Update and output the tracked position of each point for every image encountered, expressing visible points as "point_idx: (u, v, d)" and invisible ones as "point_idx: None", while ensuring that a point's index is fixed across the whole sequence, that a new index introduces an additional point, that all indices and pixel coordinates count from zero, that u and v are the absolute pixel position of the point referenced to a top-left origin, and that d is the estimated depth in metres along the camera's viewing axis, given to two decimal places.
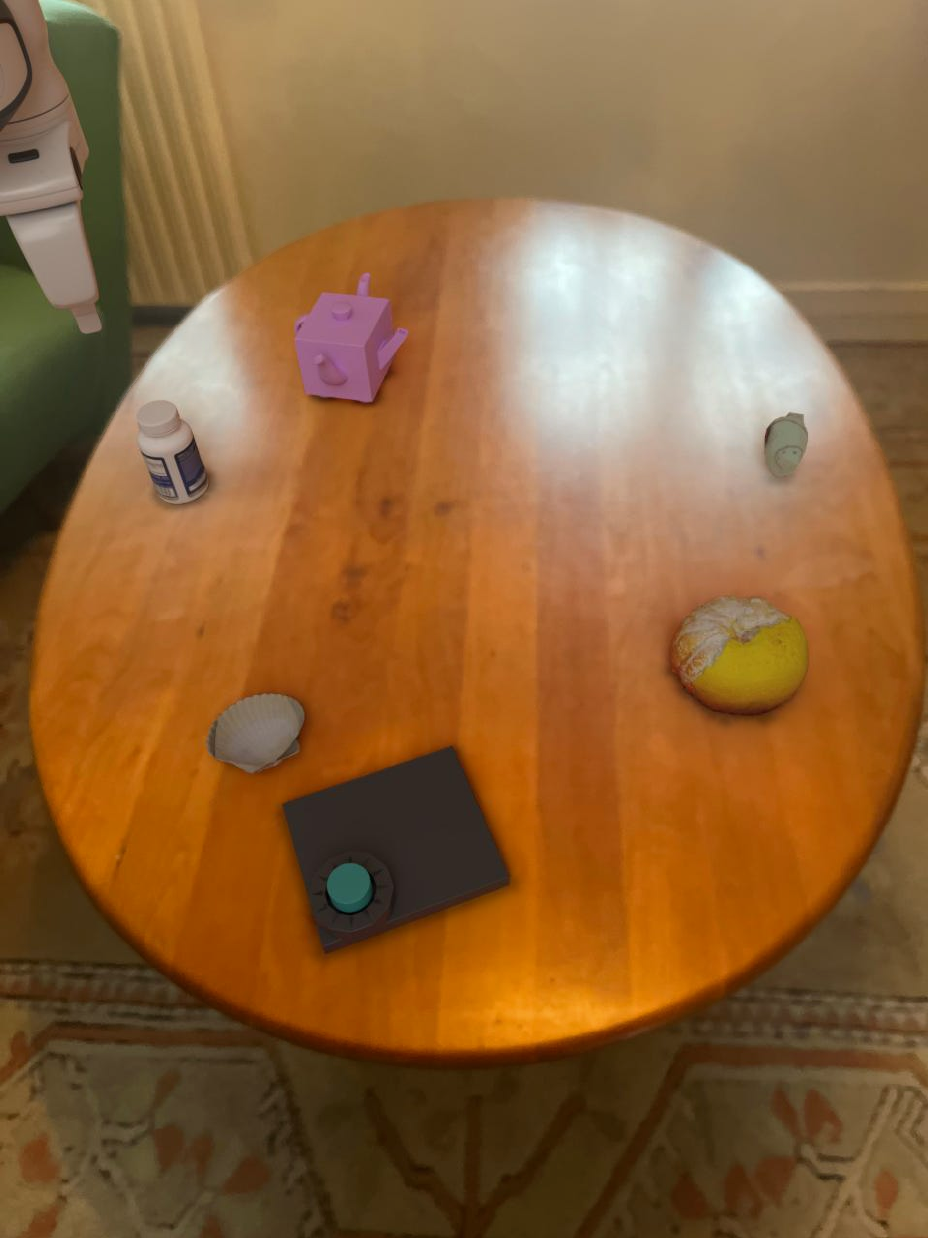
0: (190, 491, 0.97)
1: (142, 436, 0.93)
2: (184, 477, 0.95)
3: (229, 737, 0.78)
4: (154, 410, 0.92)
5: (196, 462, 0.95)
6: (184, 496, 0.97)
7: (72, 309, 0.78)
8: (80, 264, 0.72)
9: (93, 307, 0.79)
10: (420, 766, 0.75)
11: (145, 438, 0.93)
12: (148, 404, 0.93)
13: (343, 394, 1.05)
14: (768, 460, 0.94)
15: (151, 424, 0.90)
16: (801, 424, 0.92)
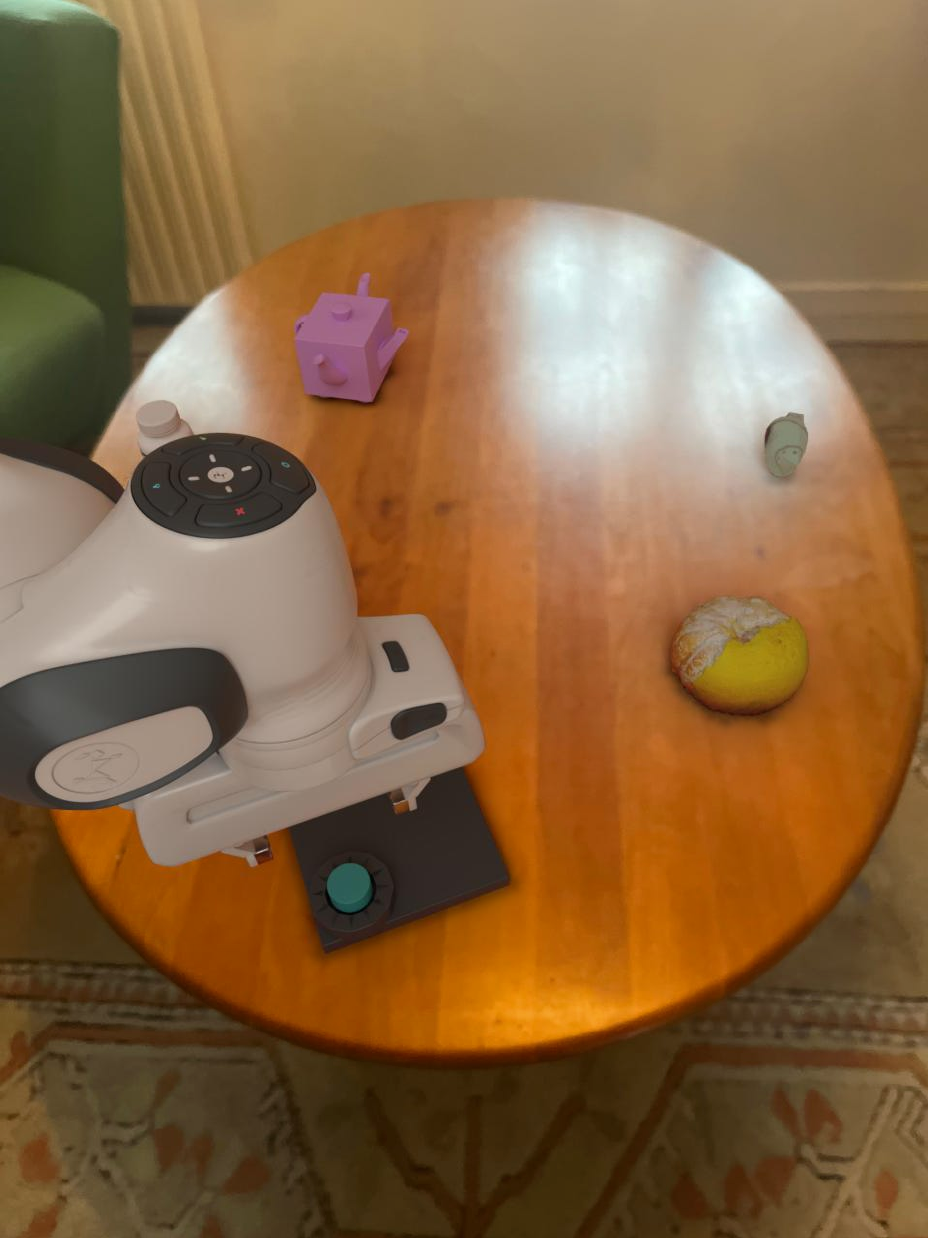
0: None
1: (142, 436, 0.93)
2: None
3: None
4: (154, 410, 0.92)
5: None
6: None
7: None
8: None
9: None
10: None
11: (145, 438, 0.93)
12: (148, 404, 0.93)
13: (343, 394, 1.05)
14: (768, 460, 0.94)
15: (151, 424, 0.90)
16: (801, 424, 0.92)
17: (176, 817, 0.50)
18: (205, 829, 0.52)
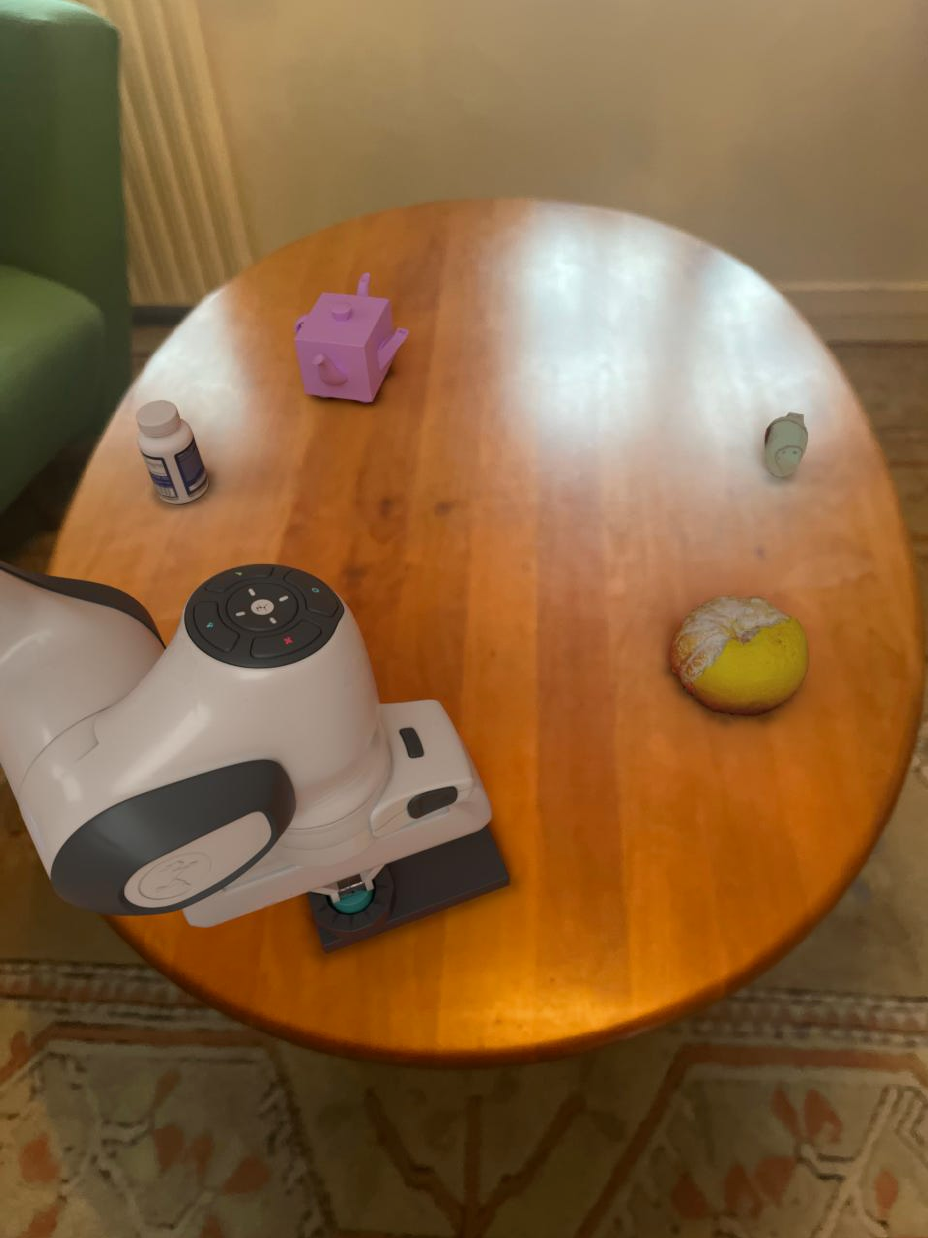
0: (190, 491, 0.97)
1: (142, 436, 0.93)
2: (184, 477, 0.95)
3: None
4: (154, 410, 0.92)
5: (196, 462, 0.95)
6: (183, 496, 0.97)
7: None
8: None
9: None
10: None
11: (144, 438, 0.93)
12: (148, 404, 0.93)
13: (343, 394, 1.05)
14: (768, 460, 0.94)
15: (151, 424, 0.90)
16: (801, 424, 0.92)
17: None
18: (238, 896, 0.58)
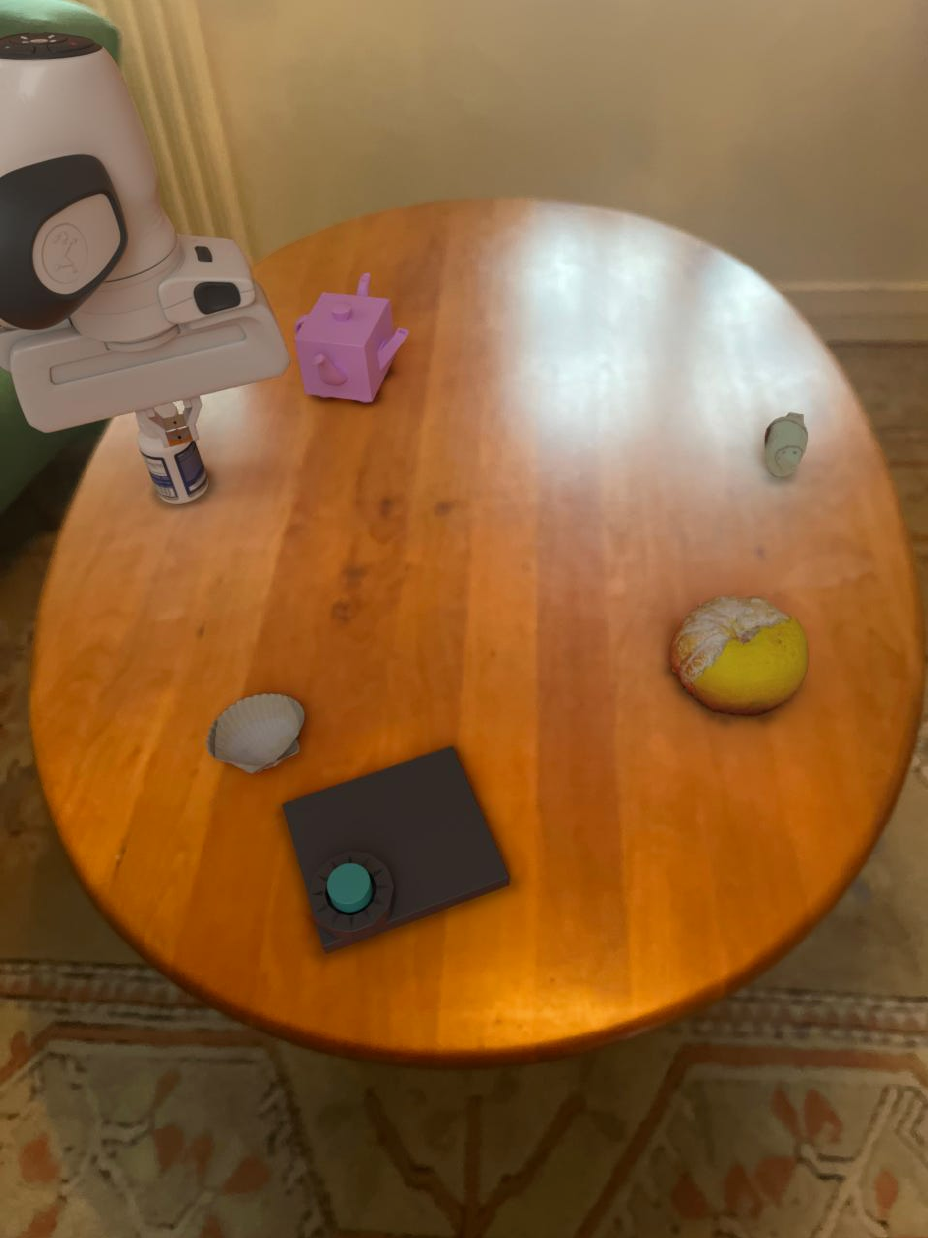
0: (190, 491, 0.97)
1: (142, 436, 0.93)
2: (184, 477, 0.95)
3: (229, 737, 0.78)
4: (154, 410, 0.92)
5: (196, 462, 0.95)
6: (184, 496, 0.97)
7: (199, 411, 0.76)
8: None
9: None
10: (420, 766, 0.75)
11: (144, 438, 0.93)
12: None
13: (343, 394, 1.05)
14: (768, 460, 0.94)
15: None
16: (801, 424, 0.92)
17: (41, 374, 0.68)
18: (66, 394, 0.70)
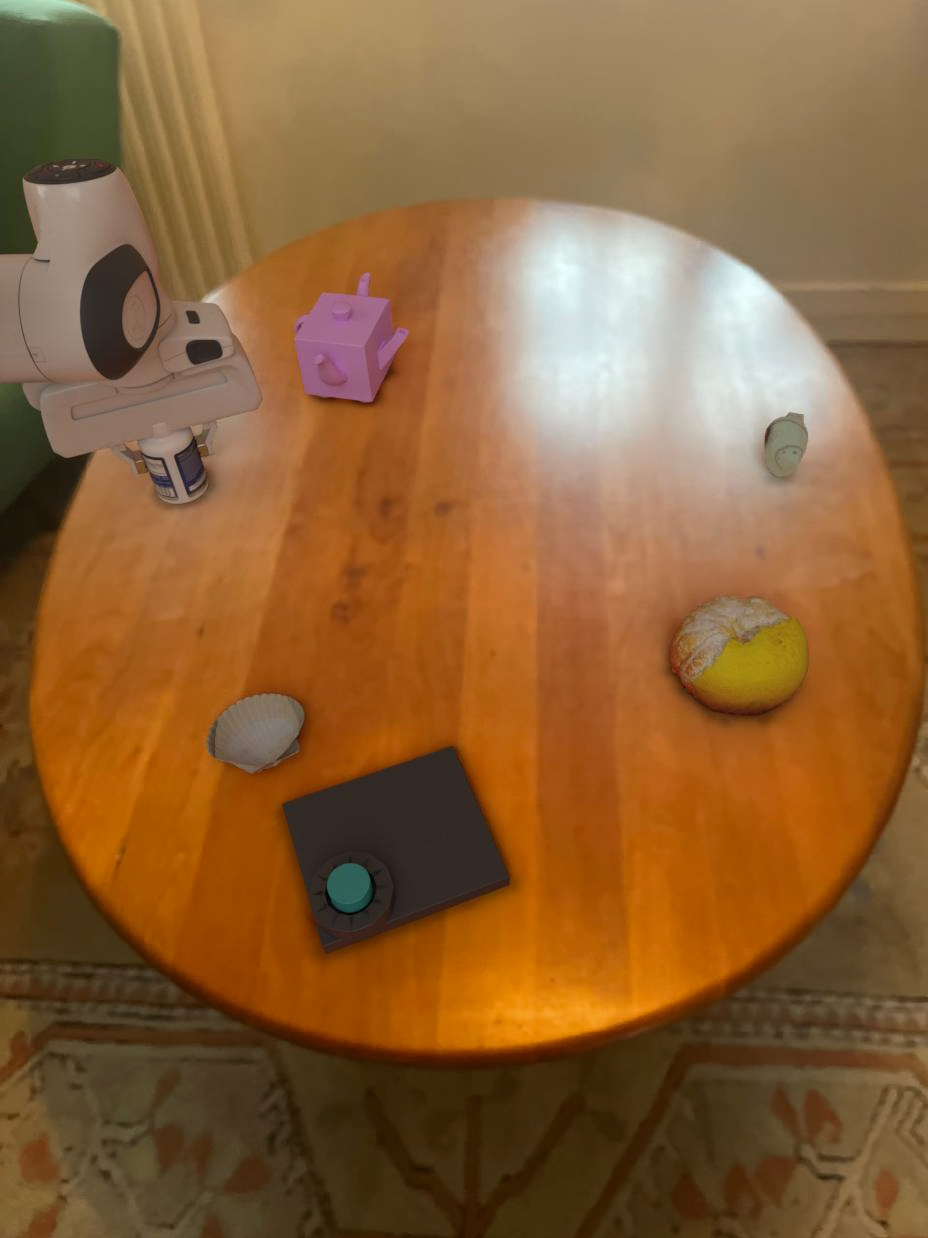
0: (190, 491, 0.97)
1: None
2: (184, 477, 0.95)
3: (229, 737, 0.78)
4: None
5: (196, 462, 0.95)
6: (183, 496, 0.97)
7: None
8: None
9: None
10: (420, 766, 0.75)
11: (144, 438, 0.92)
12: None
13: (343, 394, 1.05)
14: (768, 460, 0.94)
15: None
16: (801, 424, 0.92)
17: (65, 412, 0.86)
18: (84, 427, 0.88)
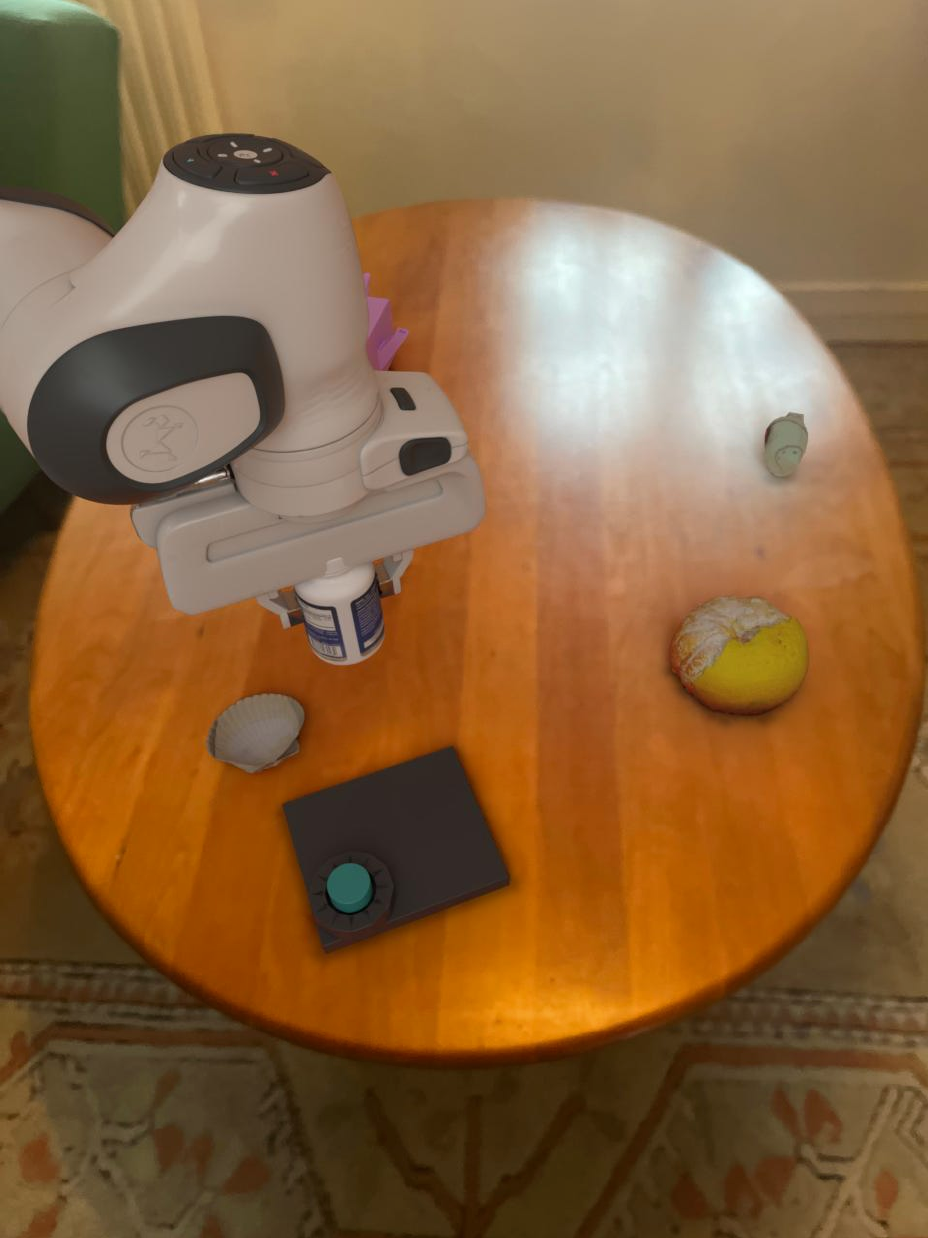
0: (364, 648, 0.64)
1: None
2: (360, 630, 0.62)
3: (229, 737, 0.78)
4: None
5: (376, 606, 0.63)
6: (355, 656, 0.64)
7: None
8: None
9: None
10: (420, 766, 0.75)
11: None
12: None
13: None
14: (768, 460, 0.94)
15: None
16: (801, 424, 0.92)
17: (197, 552, 0.54)
18: (223, 572, 0.55)
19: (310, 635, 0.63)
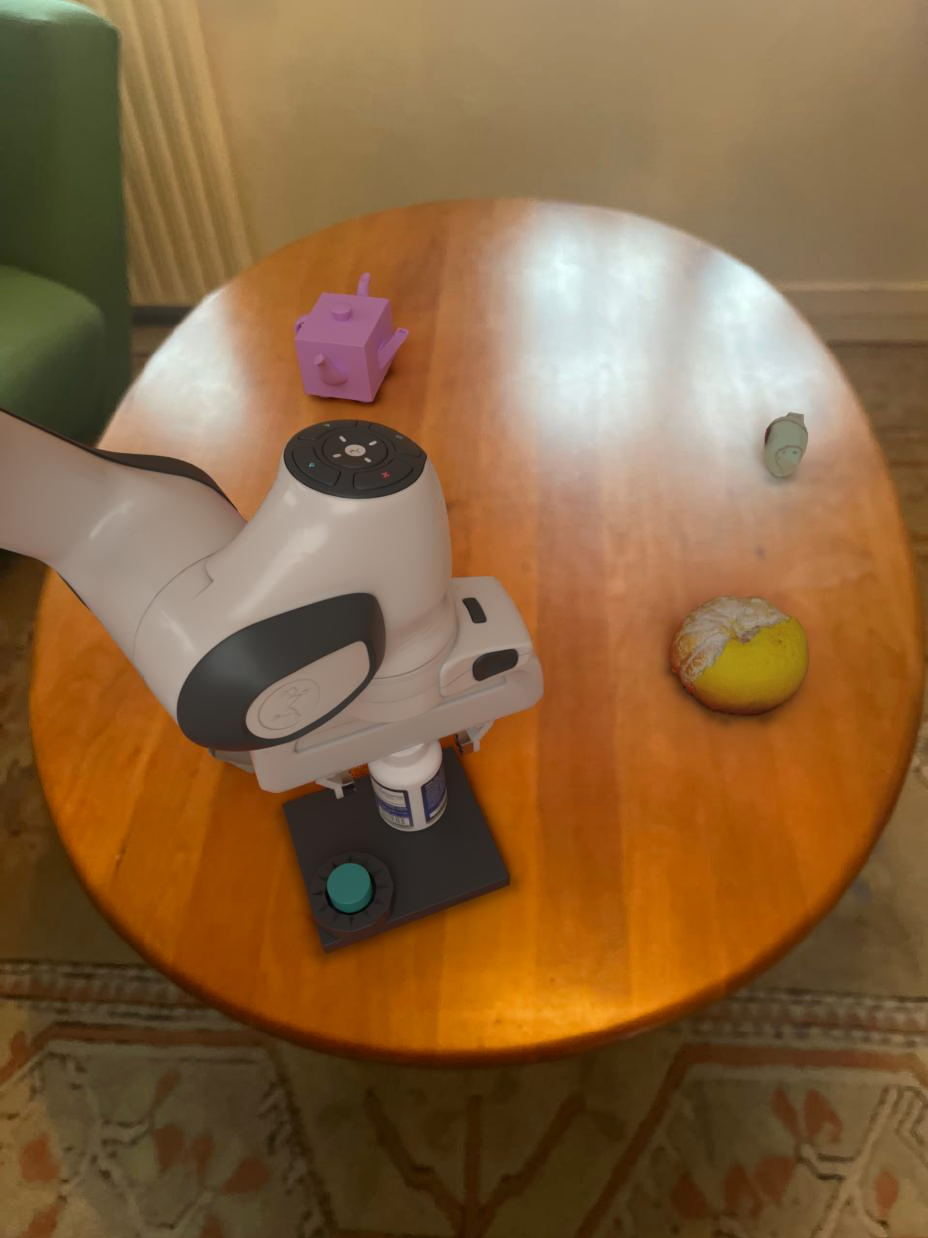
0: (430, 818, 0.70)
1: None
2: (427, 805, 0.69)
3: None
4: None
5: (442, 783, 0.69)
6: (421, 824, 0.70)
7: None
8: None
9: None
10: None
11: (381, 763, 0.66)
12: None
13: (343, 394, 1.05)
14: (768, 460, 0.94)
15: (398, 754, 0.64)
16: (801, 424, 0.92)
17: (287, 747, 0.59)
18: (308, 759, 0.61)
19: (381, 806, 0.70)
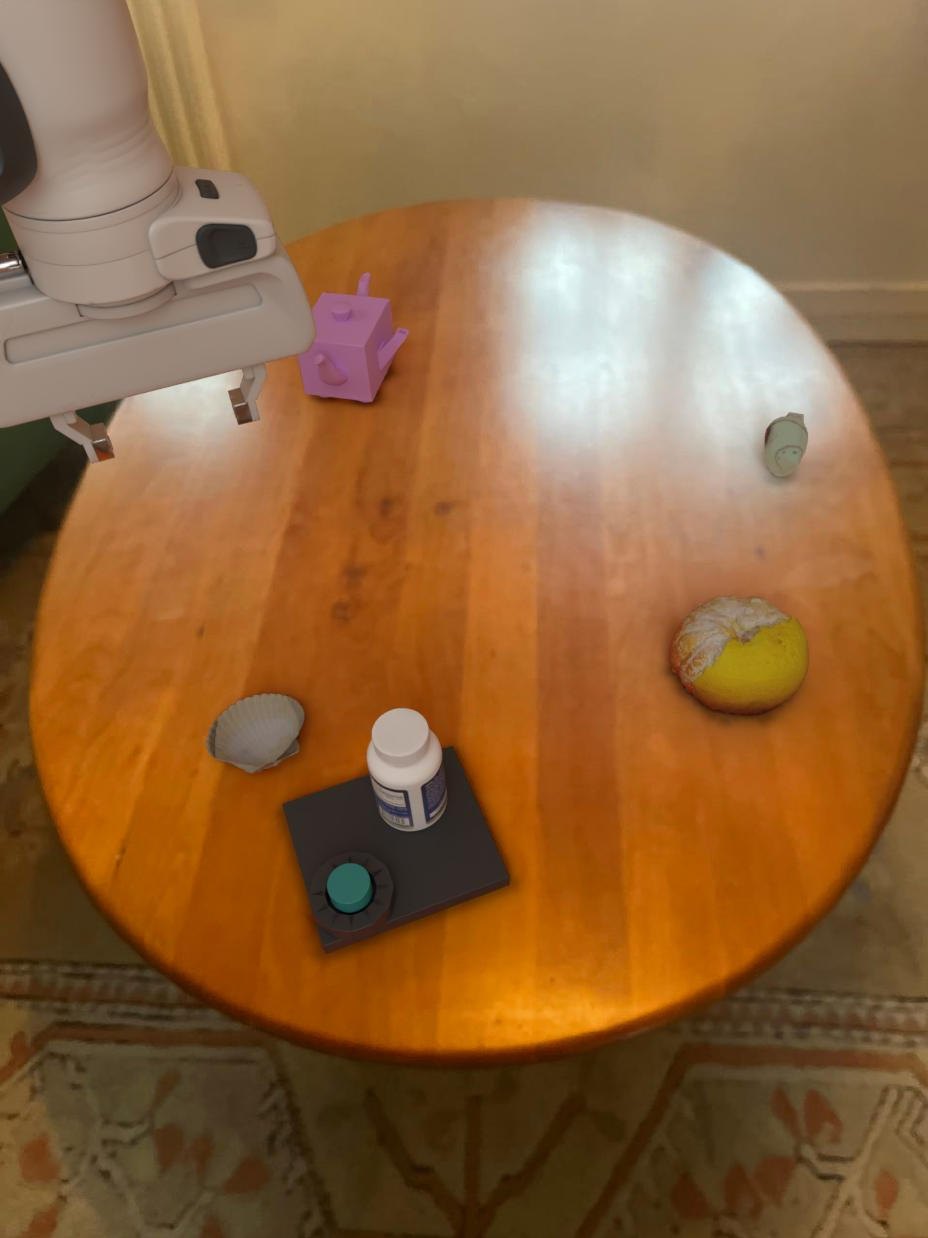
0: (430, 818, 0.70)
1: (377, 759, 0.66)
2: (427, 805, 0.69)
3: (229, 737, 0.78)
4: (396, 727, 0.66)
5: (442, 783, 0.69)
6: (421, 824, 0.70)
7: None
8: None
9: None
10: None
11: (381, 763, 0.66)
12: (386, 715, 0.66)
13: (343, 394, 1.05)
14: (768, 460, 0.94)
15: (398, 754, 0.64)
16: (801, 424, 0.92)
17: None
18: (27, 376, 0.53)
19: (381, 806, 0.70)
